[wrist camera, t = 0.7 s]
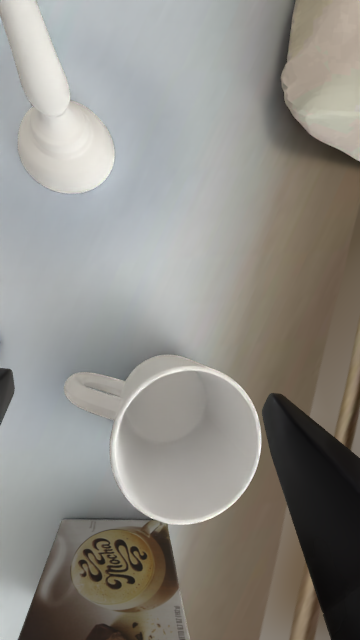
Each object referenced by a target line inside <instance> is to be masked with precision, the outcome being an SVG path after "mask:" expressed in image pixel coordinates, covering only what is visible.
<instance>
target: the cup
mask: <svg viewBox="0 0 360 640" xmlns="http://www.w3.org/2000/svg"><path fill="white" fill-rule="evenodd" d="M88 387H89V388H88ZM91 388H94V389H98V390H101V391H104V392H107V393H110V394H112V395H110V394H106V393H103V392H99V391H96V390H93V389H91ZM64 392H65V395H66V397H67V398H68V399H69V400H70V402H72V403H73V404H74V405H76V406H77V407H79V408H81V409H83V410H85V411H88V412H90V413H93V414H96V415H99V416H102V417H105V418H108V419H111V420H114V424H113V428H112V432H111V438H110V462H111V468H112V471H113V475H114V478H115V480H116V483H117V485H118V487H119V489H120V490H121V492H122V493H123V495H124V496H125V498H126V499H127V500H128V501H129V502H130V503H131V504H132V505H133V506H134V507H135V508H136V509H137V510H139V511H140V512H141V513H143V514H144V515H146V516H148V517H150V518H152V519H154V520H157V521H160V522H163V523H168V524H175V525H186V524H194V523H199V522H202V521H205V520H208V519H210V518H213V517H215V516H216V515H218V514H220V513H222V512H223V511H225V510H226V509H227V508H229V507H230V506H231V505H232V504H233V503H234V502H235V501H236V500H237V499H238V498H239V497H240V496H241V495H242V494H243V492H244V491H245V489H246V488H247V487H248V485H249V483H250V481H251V480H252V478H253V475H254V473H255V471H256V468H257V465H258V461H259V457H260V451H261V428H260V423H259V419H258V415H257V412H256V410H255V407H254V405H253V403H252V401H251V400H250V398H249V396H248V395H247V394H246V392H245V391H244V390H243V389H242V387H241V386H240V385H239V384H238V383H236V382H235V381H234V380H233V379H231V378H230V377H229V376H227V375H225V374H224V373H222V372H220V371H217V370H215V369H213V368H210V367H208V366H205V365H203V364H200V363H197V362H195V361H192V360H190V359H187V358H185V357H182V356H177V355H159V356H155V357H152V358H150V359H147V360H146V361H144V362H142V363H141V364H139V365H138V366H137V367H136V368H135V369H134V370H133V371H132V372H131V373H130V375H129V376H128V378H127V379H126V381H123V380H119V379H116V378H113V377H109V376H105V375H101V374H96V373H90V372H80V373H76V374H73V375H71V376H70V377H69V378H68V379H67V380H66V382H65V385H64ZM113 395H115V396H113Z"/></svg>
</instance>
